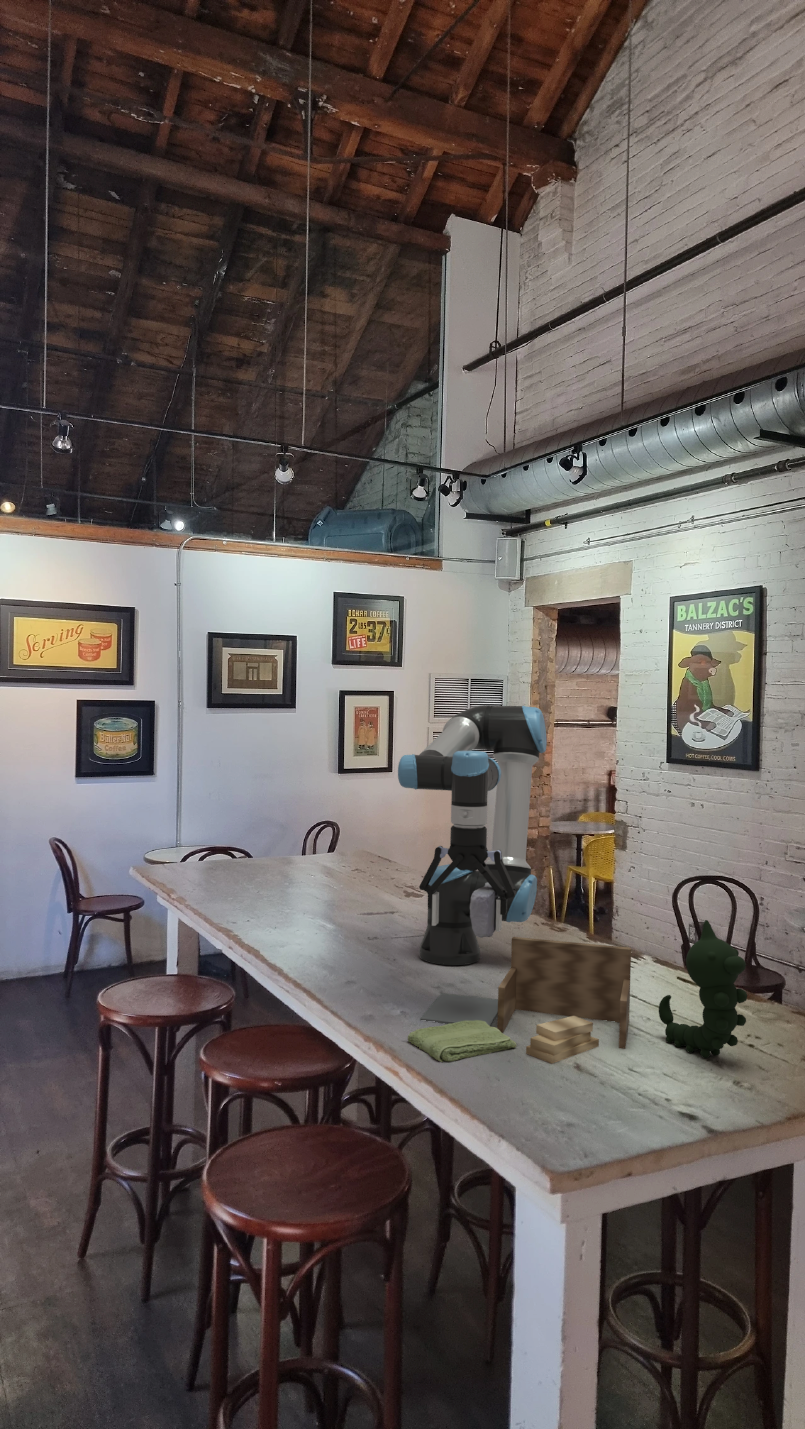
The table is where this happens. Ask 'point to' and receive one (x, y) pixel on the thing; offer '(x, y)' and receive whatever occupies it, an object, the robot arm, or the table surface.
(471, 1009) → the charcoal panel
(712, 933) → the toy figurine
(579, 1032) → the offcut stack
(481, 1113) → the table surface
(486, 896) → the stone block
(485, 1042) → the washcloth
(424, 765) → the robot arm
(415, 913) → the table surface
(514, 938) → the walnut rack
